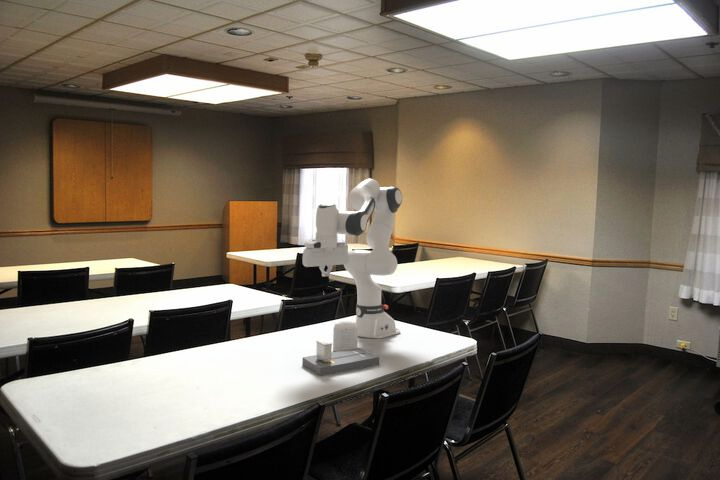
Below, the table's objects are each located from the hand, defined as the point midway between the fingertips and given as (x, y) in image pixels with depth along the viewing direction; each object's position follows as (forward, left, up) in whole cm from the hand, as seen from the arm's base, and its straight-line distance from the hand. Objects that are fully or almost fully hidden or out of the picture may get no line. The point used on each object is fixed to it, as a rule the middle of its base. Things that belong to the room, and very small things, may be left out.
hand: (325, 276), depth 223 cm
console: (+4, +20, -31) cm, 37 cm away
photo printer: (-7, +5, -31) cm, 33 cm away
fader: (+12, +20, -28) cm, 36 cm away
